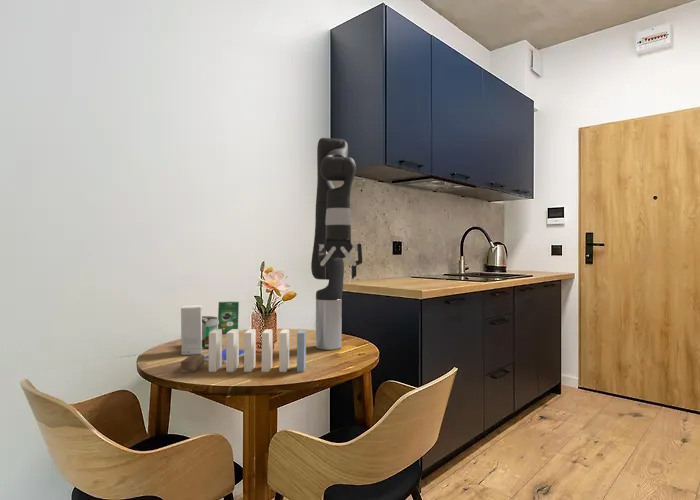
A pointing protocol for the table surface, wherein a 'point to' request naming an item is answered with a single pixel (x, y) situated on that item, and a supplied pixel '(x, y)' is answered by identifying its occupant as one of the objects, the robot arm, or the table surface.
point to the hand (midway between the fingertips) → (338, 278)
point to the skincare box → (191, 330)
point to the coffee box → (228, 316)
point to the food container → (208, 329)
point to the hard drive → (241, 352)
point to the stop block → (192, 363)
